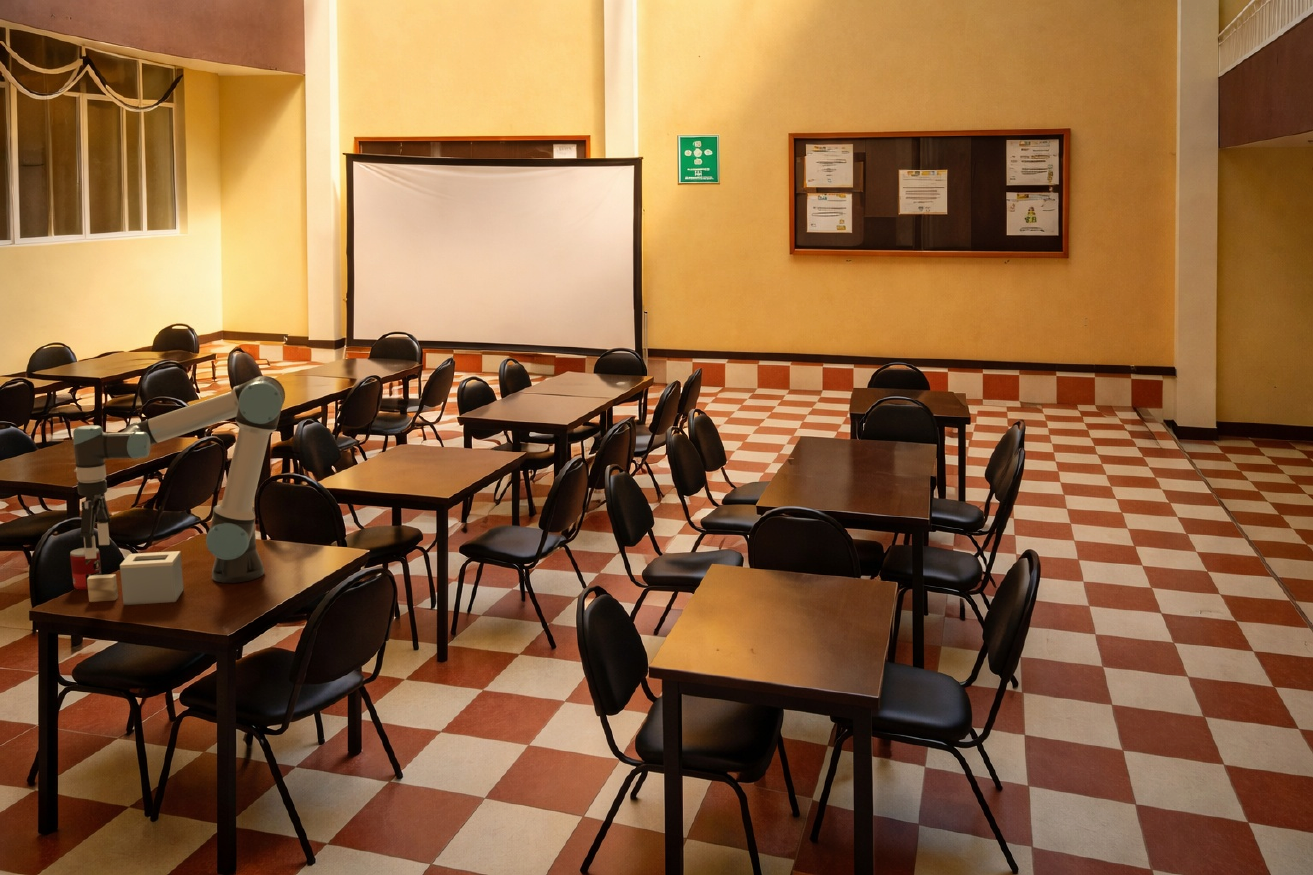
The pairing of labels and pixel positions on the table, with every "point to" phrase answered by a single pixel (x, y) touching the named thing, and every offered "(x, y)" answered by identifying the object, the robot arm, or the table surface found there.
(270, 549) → the table surface
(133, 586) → the box
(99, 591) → the block
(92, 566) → the canned food
